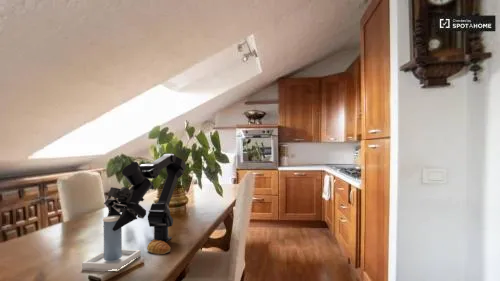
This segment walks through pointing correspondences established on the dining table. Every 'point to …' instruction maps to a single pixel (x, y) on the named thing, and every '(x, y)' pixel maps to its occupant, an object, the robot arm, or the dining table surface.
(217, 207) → the dining table surface
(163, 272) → the dining table surface
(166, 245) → the pastry
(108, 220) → the blue cylindrical canister
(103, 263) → the tray
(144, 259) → the dining table surface
